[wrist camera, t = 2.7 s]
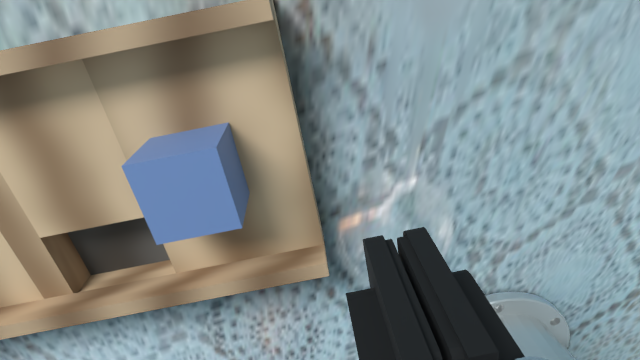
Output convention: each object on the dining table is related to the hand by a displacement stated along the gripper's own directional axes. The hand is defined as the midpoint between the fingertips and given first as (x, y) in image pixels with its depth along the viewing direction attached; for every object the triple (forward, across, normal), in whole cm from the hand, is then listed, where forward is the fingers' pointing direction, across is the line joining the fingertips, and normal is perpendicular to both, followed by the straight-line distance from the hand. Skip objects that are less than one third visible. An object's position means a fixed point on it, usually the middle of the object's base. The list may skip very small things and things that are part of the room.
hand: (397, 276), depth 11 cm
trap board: (+15, +18, +1) cm, 24 cm away
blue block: (+13, +8, +1) cm, 15 cm away
